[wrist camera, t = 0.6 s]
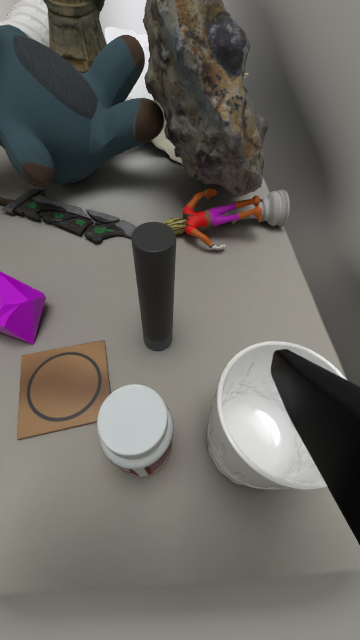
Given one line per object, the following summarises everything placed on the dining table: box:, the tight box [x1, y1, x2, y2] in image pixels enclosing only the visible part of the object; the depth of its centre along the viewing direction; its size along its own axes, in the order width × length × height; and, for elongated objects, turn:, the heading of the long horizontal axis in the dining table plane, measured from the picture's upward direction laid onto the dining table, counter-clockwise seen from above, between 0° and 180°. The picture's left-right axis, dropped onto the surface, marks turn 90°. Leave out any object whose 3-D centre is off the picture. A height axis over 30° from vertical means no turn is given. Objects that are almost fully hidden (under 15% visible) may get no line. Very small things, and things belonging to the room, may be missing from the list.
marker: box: [131, 222, 176, 351], centre depth 23 cm, size 3×3×13 cm
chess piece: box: [214, 190, 290, 226], centre depth 38 cm, size 4×4×10 cm
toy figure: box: [165, 188, 262, 250], centre depth 36 cm, size 8×12×3 cm
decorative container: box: [0, 0, 49, 47], centre depth 53 cm, size 12×12×18 cm
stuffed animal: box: [0, 25, 164, 187], centre depth 30 cm, size 23×18×28 cm
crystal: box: [0, 272, 46, 344], centre depth 27 cm, size 5×5×5 cm
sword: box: [0, 189, 137, 243], centre depth 38 cm, size 1×25×7 cm
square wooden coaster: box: [17, 340, 111, 440], centre depth 26 cm, size 8×8×1 cm
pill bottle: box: [97, 384, 173, 477], centre depth 20 cm, size 5×5×8 cm
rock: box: [143, 0, 268, 196], centre depth 33 cm, size 25×21×15 cm
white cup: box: [206, 341, 347, 490], centre depth 20 cm, size 8×8×10 cm
